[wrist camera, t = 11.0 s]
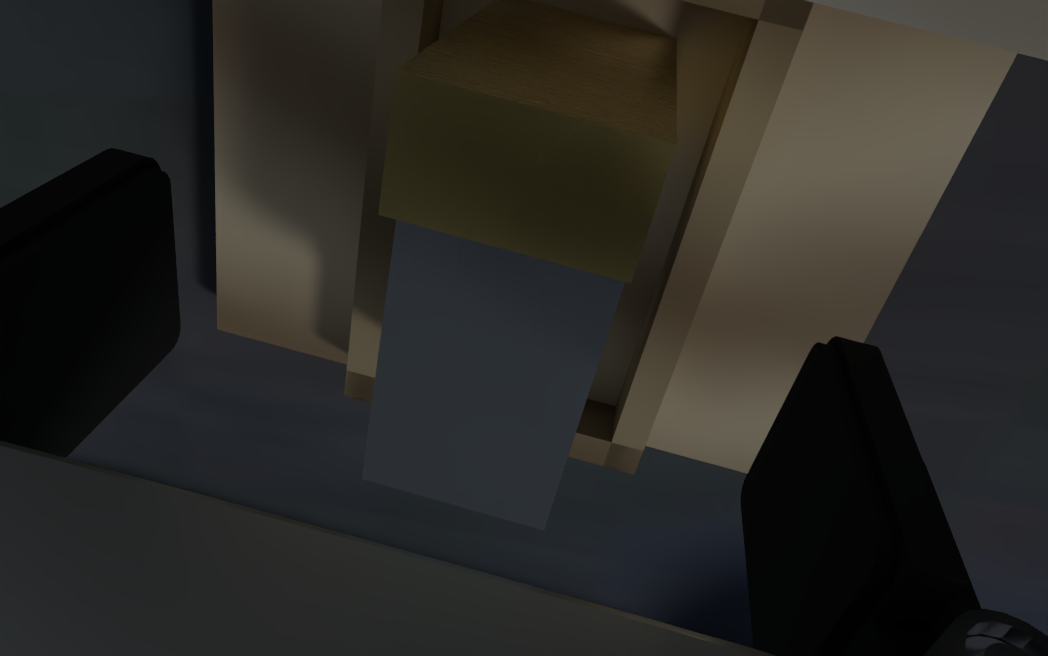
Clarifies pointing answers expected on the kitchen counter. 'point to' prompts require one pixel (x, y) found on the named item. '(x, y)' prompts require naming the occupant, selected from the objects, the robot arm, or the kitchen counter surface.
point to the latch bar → (511, 245)
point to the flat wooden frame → (683, 207)
